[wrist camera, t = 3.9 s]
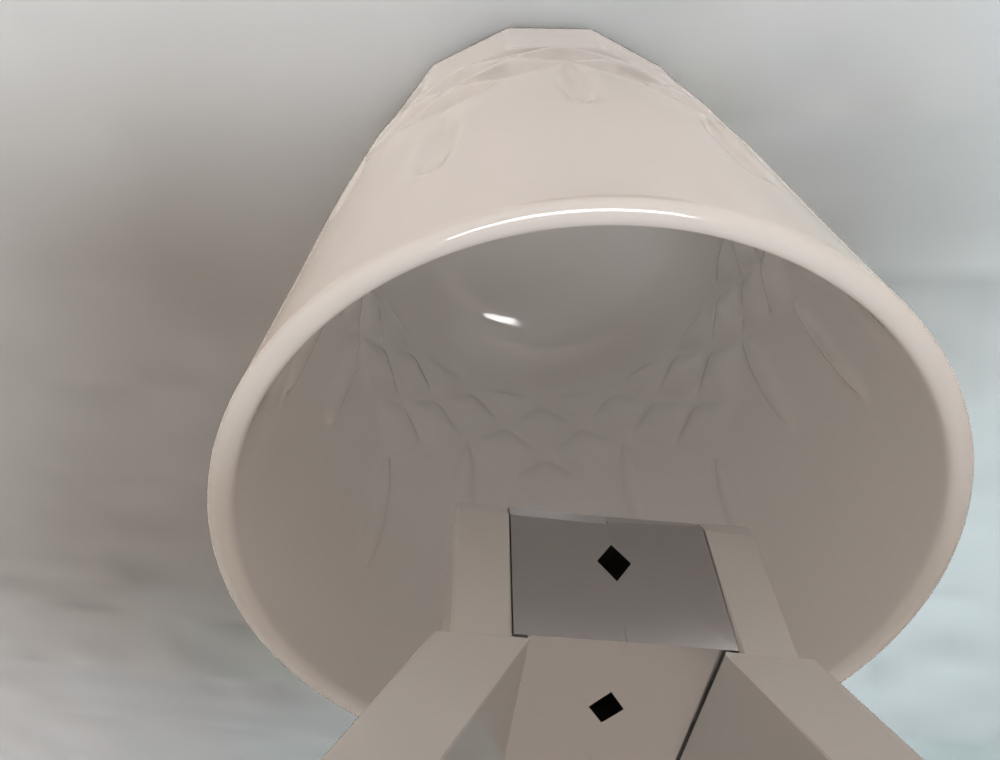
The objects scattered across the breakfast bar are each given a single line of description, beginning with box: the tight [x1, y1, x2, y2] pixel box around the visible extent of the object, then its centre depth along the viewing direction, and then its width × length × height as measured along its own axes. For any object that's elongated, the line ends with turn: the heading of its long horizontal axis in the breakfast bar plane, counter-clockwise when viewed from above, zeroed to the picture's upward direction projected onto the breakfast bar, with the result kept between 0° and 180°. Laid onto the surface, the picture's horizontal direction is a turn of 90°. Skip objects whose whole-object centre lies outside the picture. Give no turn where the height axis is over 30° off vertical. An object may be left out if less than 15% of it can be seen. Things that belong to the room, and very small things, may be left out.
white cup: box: [207, 28, 974, 717], centre depth 13 cm, size 8×8×10 cm
